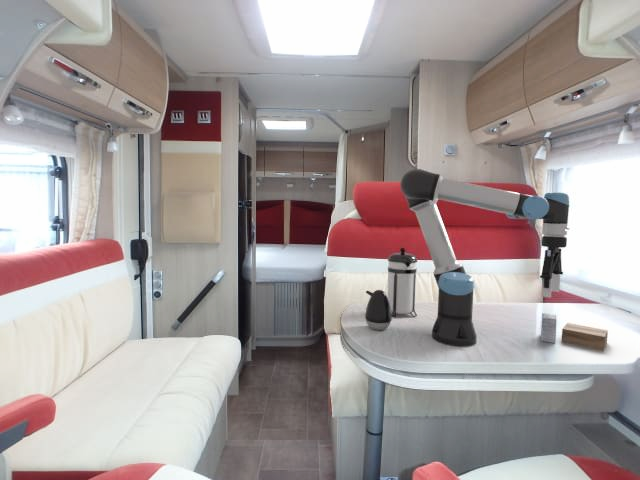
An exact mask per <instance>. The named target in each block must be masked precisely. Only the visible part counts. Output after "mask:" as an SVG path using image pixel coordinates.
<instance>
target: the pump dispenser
mask: <svg viewBox="0 0 640 480" xmlns="http://www.w3.org/2000/svg"><path fill="white" fill-rule="evenodd" d="M365 293H366V294H367V295H368V296H370V297H369V299H368V302H367V305H366V310H365V316H364V317H365V321H366V325H367V326H368V327H369V328H370V329H372V330H374V329H375V330H374V331H384V330H386V329H387V328H388V327H389V326H390V325H391V322H392V319H393V317H392V312H391V308H390V303H389V300H388V298H387V297H388V294H386V292H385V291H384V290H382V289H376V290H374V291H373V292H371V291H369V290H366V291H365Z"/></svg>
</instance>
